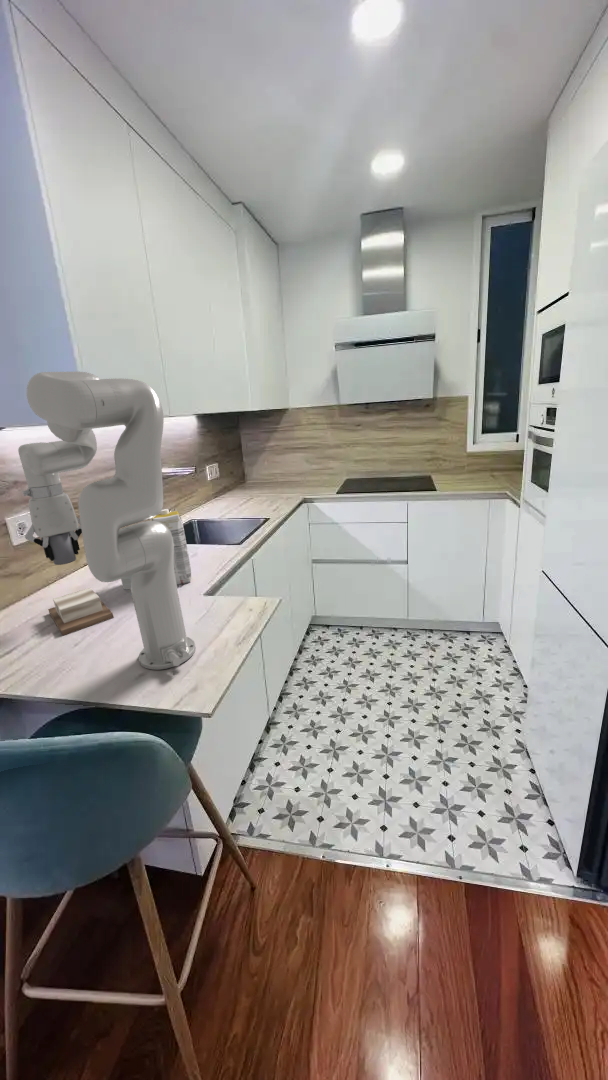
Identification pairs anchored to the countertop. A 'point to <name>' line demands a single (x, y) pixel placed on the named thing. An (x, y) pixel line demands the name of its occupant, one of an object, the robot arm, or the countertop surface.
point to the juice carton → (177, 544)
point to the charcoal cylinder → (62, 548)
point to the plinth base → (81, 620)
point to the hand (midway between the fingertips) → (63, 555)
